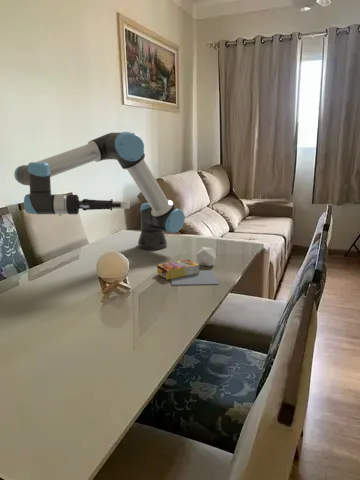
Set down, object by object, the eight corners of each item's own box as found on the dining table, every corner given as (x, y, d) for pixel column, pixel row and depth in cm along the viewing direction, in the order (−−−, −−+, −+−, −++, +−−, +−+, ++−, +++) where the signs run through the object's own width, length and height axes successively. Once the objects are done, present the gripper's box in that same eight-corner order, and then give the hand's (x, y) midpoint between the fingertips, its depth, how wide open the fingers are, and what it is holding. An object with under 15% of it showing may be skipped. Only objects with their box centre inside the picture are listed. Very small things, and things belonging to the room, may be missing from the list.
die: (218, 264, 175) (210, 245, 178) (219, 260, 167) (210, 240, 170) (202, 271, 175) (194, 252, 178) (201, 267, 167) (193, 247, 169)
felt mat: (170, 271, 163) (170, 271, 163) (212, 271, 165) (212, 270, 164) (171, 285, 148) (171, 284, 148) (218, 284, 149) (218, 283, 149)
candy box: (156, 263, 159) (188, 258, 167) (156, 273, 160) (188, 268, 168) (167, 269, 152) (199, 264, 159) (167, 279, 153) (199, 274, 160)
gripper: (71, 211, 155) (130, 212, 157) (64, 216, 142) (128, 217, 144) (70, 193, 153) (130, 193, 155) (63, 196, 141) (128, 197, 143)
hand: (129, 204), depth 150 cm, fingers closed
